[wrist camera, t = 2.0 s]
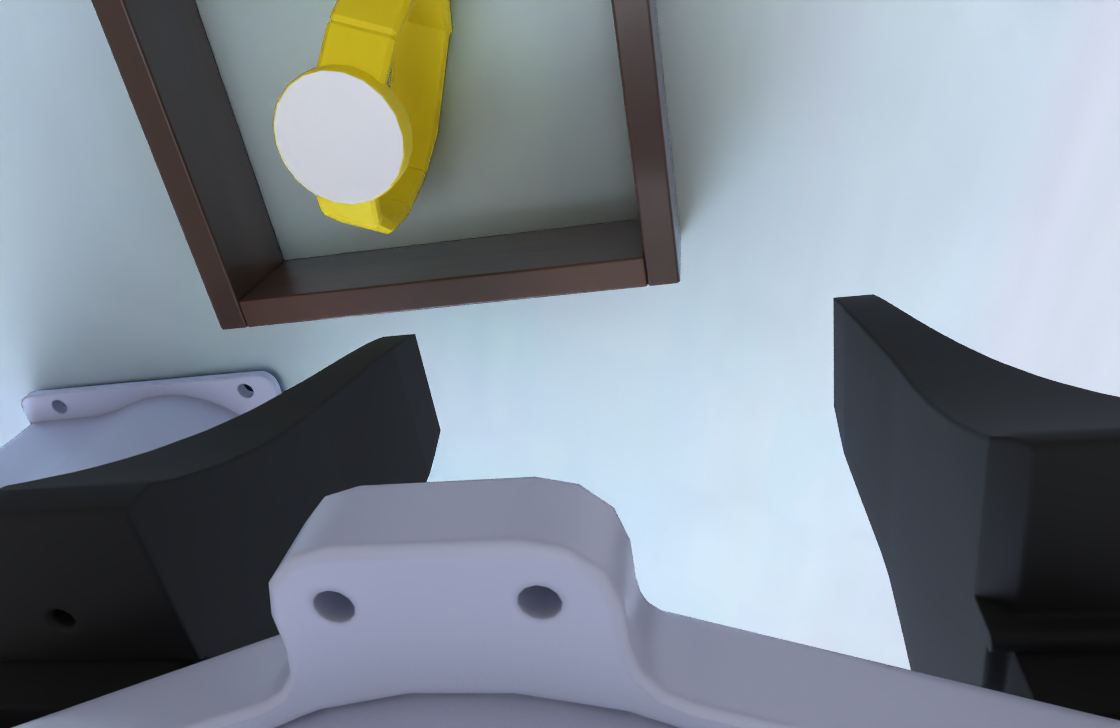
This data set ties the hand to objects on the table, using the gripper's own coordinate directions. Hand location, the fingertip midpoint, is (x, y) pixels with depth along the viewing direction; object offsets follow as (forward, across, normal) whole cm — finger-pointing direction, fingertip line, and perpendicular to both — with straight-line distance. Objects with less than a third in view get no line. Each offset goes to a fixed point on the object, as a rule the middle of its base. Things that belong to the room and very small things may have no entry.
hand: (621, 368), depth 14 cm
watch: (+10, +6, -4) cm, 12 cm away
